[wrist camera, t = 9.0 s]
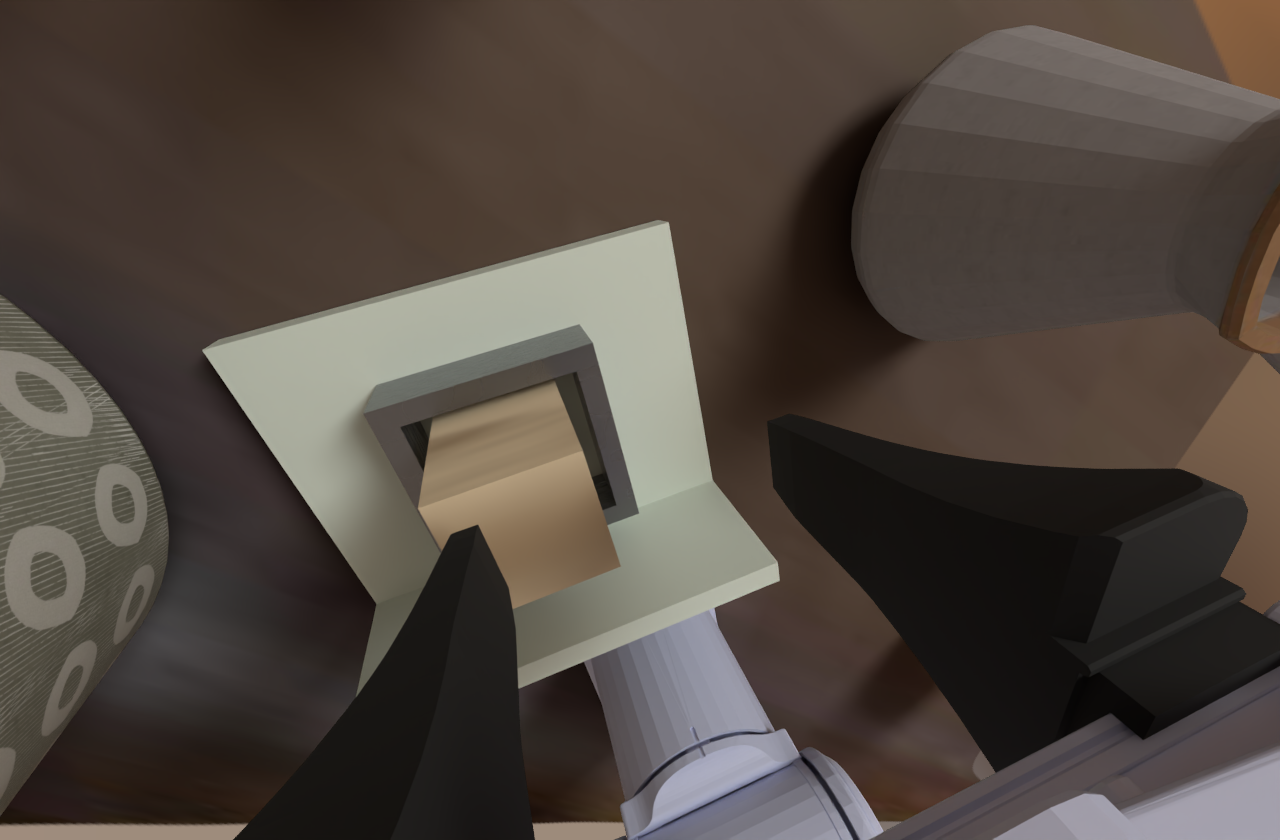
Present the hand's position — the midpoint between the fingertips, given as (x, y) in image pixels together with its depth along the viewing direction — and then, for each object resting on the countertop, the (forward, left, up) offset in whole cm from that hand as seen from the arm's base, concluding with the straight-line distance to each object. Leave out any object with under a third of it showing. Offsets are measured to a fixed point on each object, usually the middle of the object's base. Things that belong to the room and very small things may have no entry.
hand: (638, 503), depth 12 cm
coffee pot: (-2, -20, -11) cm, 23 cm away
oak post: (-2, +3, -9) cm, 10 cm away
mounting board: (-2, +3, -10) cm, 11 cm away
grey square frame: (-3, +3, -9) cm, 10 cm away
